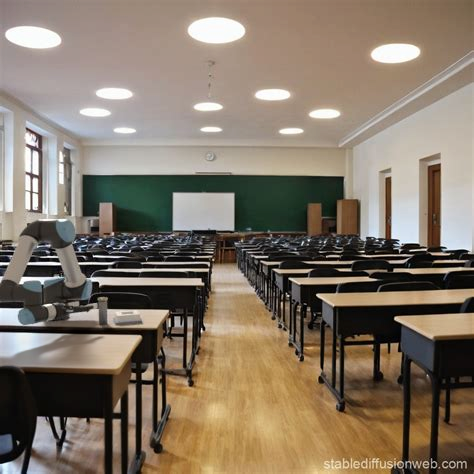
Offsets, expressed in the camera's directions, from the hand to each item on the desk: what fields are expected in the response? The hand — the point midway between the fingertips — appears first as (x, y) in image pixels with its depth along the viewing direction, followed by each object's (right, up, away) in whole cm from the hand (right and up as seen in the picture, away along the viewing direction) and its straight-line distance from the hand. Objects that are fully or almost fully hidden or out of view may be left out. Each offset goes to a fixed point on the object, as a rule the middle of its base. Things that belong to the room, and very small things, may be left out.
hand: (87, 304), depth 226 cm
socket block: (+17, -11, +16) cm, 26 cm away
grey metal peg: (+5, -12, +10) cm, 16 cm away
